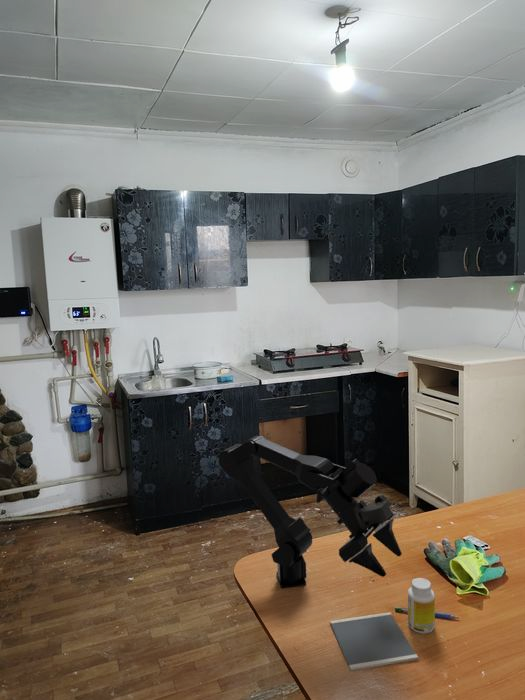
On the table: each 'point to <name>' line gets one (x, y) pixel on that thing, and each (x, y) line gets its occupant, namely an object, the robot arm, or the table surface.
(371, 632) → the mat
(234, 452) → the robot arm
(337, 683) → the table surface
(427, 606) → the supplement bottle
